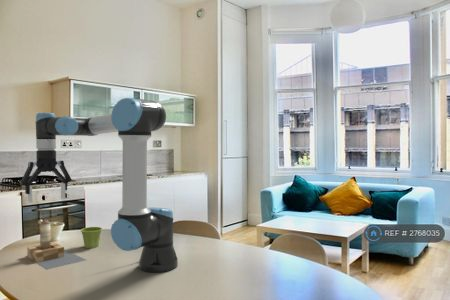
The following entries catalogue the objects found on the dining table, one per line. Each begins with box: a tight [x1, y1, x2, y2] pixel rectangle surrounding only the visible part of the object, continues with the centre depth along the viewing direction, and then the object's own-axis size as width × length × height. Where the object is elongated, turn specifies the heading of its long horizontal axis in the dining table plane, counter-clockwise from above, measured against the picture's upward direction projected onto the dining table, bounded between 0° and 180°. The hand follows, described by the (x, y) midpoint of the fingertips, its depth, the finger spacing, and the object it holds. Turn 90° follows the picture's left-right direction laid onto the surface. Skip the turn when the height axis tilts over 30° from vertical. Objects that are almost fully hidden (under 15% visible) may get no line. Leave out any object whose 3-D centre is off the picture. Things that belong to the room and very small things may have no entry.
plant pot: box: [80, 226, 103, 249], centre depth 178 cm, size 9×9×9 cm
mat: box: [24, 249, 87, 270], centre depth 160 cm, size 24×16×1 cm, turn 46°
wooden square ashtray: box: [26, 241, 65, 263], centre depth 162 cm, size 11×11×4 cm
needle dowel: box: [39, 219, 52, 250], centre depth 162 cm, size 4×4×16 cm
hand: (47, 200), depth 162 cm, fingers open, 13 cm apart
